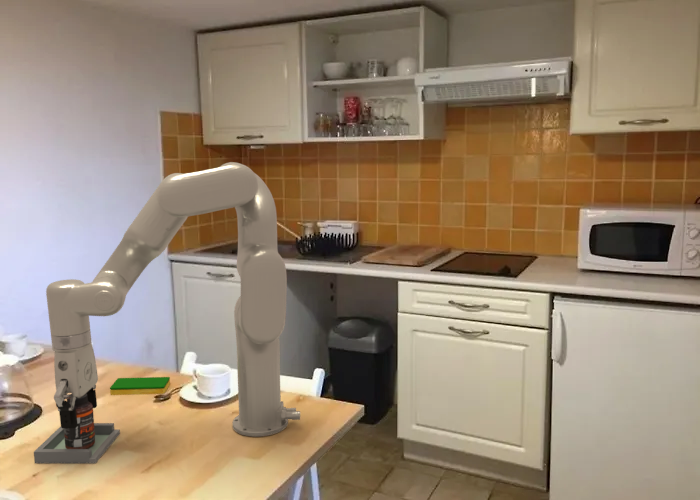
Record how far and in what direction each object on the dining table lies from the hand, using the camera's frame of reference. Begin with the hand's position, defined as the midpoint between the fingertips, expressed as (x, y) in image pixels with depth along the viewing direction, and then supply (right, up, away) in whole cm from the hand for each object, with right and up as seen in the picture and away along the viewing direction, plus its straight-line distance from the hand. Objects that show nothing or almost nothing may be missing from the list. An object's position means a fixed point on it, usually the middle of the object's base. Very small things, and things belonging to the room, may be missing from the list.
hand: (79, 417), depth 134 cm
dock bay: (-1, -7, +1) cm, 7 cm away
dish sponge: (+2, -2, +34) cm, 34 cm away
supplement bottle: (0, -7, +1) cm, 7 cm away
